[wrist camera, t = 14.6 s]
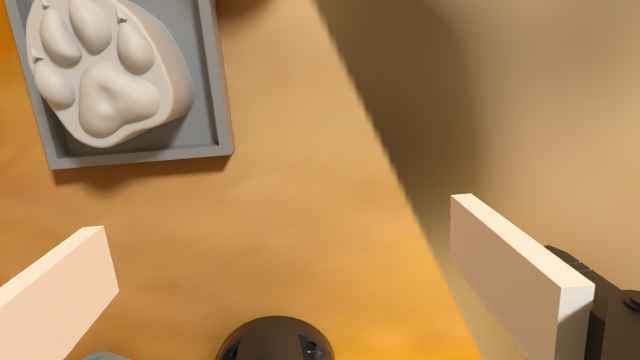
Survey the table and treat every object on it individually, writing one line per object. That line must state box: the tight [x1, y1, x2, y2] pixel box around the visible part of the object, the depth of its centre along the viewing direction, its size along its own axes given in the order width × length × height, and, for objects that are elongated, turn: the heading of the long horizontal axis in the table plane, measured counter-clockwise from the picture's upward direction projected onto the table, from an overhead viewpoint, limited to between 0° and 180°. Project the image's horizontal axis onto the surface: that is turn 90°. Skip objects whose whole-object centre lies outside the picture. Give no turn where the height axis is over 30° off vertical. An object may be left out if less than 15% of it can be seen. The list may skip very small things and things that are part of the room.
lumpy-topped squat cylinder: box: [26, 0, 195, 148], centre depth 35 cm, size 10×13×9 cm
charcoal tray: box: [4, 0, 235, 170], centre depth 39 cm, size 19×18×3 cm
